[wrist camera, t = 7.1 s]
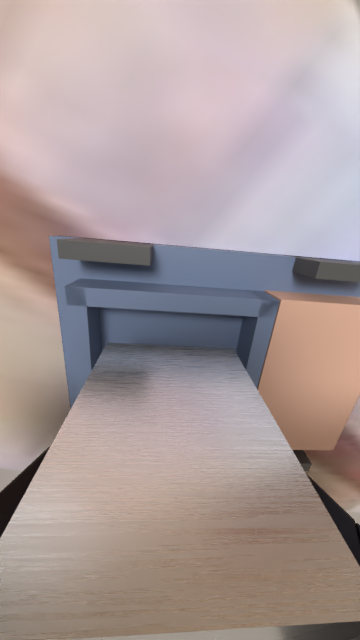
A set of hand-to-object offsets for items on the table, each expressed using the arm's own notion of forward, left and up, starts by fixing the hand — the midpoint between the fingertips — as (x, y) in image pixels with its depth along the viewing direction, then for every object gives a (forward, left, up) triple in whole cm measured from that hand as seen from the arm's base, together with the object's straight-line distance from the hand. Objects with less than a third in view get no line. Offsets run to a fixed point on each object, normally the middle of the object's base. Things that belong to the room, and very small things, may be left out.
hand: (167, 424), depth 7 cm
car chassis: (+2, 0, -5) cm, 5 cm away
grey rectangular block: (0, 0, -1) cm, 1 cm away
